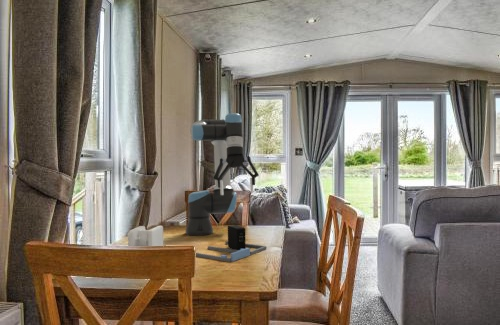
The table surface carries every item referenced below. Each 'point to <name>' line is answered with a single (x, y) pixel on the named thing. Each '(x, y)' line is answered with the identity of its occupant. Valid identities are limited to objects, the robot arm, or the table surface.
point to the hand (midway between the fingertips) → (236, 194)
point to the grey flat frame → (233, 252)
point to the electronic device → (236, 237)
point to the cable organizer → (145, 236)
